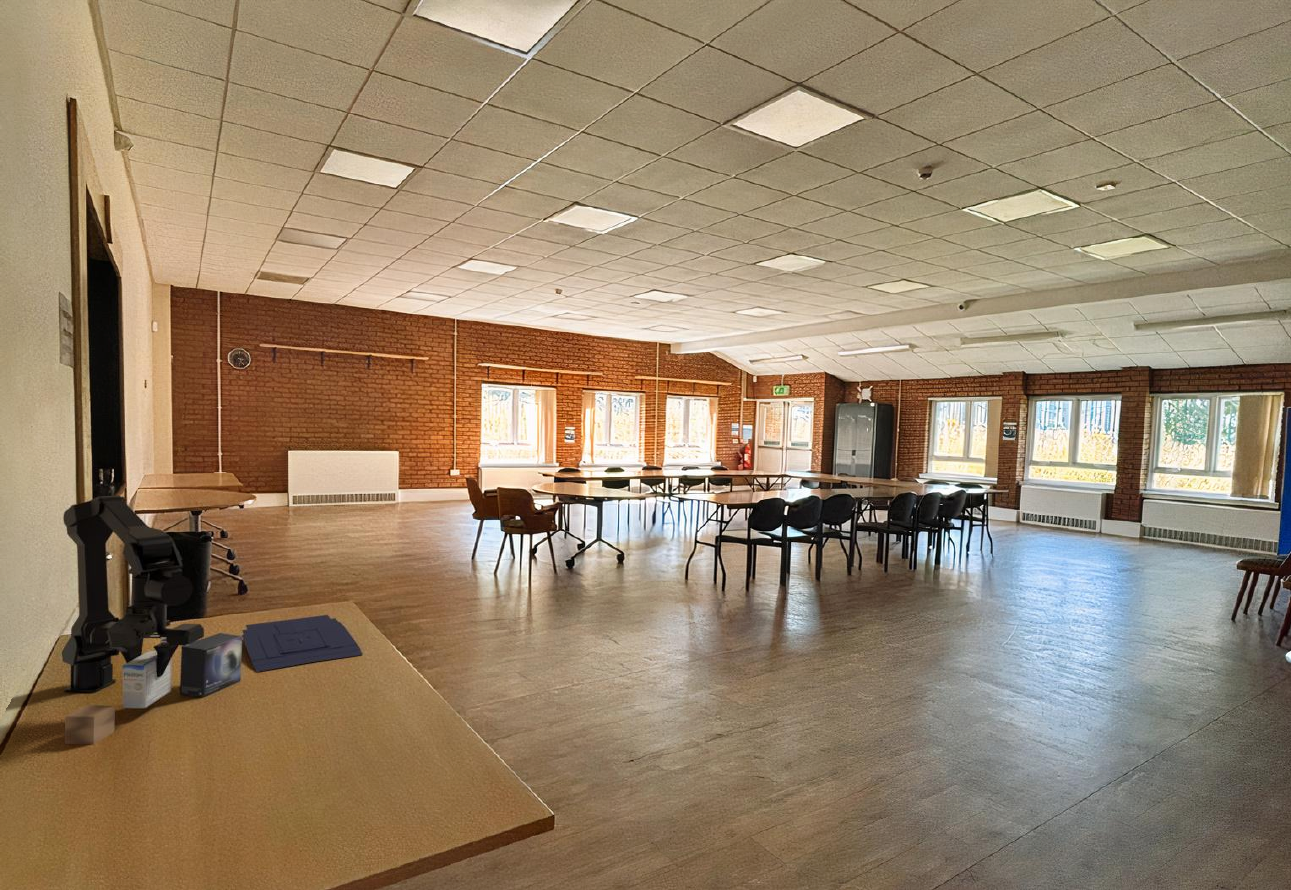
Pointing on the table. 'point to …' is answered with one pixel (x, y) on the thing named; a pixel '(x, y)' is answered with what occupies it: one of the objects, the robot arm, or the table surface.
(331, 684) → the table surface
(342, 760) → the table surface
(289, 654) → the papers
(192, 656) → the small box
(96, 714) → the light brown cube
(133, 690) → the medicine box
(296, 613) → the table surface
